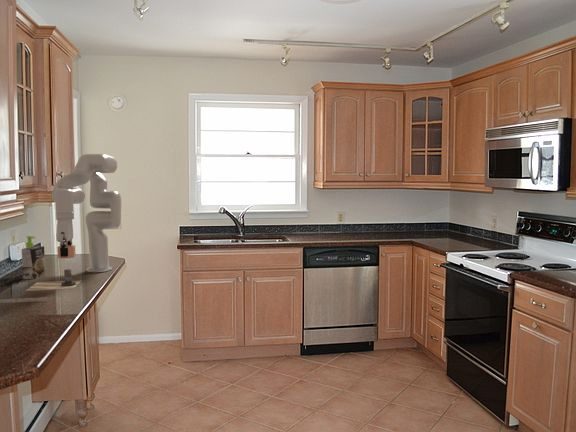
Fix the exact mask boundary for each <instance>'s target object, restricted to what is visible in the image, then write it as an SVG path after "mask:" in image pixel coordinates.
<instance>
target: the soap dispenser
mask: <svg viewBox="0 0 576 432" xmlns="http://www.w3.org/2000/svg"><path fill="white" fill-rule="evenodd" d="M26 239H27V242H26V243H25V248H28V247H33V246H35V245H34V242H33V241H32V239H36V236H34V235H28V236H27V235H26Z"/></svg>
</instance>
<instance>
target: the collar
mask: <svg viewBox="0 0 576 432" xmlns="http://www.w3.org/2000/svg"><path fill="white" fill-rule="evenodd" d="M56 248H57V250H56V251H57V259H72V258H75V257H76V245H74V244H72V245H67V248H68V256H67V257H61V256H60V245H58V246H57V247H56Z"/></svg>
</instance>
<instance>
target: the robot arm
mask: <svg viewBox="0 0 576 432" xmlns="http://www.w3.org/2000/svg"><path fill="white" fill-rule="evenodd" d="M117 169H118V162H117V160H116V158H115V157H113V156H111V155H107V154H103V153H85V154H82V155H81V156H80V157H79V158H78V160H77V163H76V165H75V166H74V168H73V170H72V172H70V173H68V174H66V175H64V176H63V177H61V178H60V179H58V181H57V182H56V183H55V184H54V187H53V189H52V191H51V199H52V201H53V203H55V204H54V205H55V206H54V207H55V220H56V241H57V242H58V243H59V246H60V256H61V257H67V256H68V248H67V245H73V239H74V227H73V220H75V214H74V213H75V211H74V209H75V208H74V205H78V204H79V205H80V204H81V203H83V202H84V200H85V199H86V193H85V191H84V190H83V189H82V188H79V186H82V185H85V184H87V183H88V182H89V183H90V186H89V205H90V207H91V208H93V209H103V210H93V211H90V212H88V213H87V214H86V216H85V224H86V228H87V236H88V238H87V239H88V254H89V255H88V259H89V267H87V268H86V271H87V273H88V272H89V273H105V272H109V271H112V269H113V267H112V266H111V265H110V263H109V262H110V261H109V242H108V241H109V239H108V235H107V233H106V231H104V230H117V229H119V228H120V225H121V221H122V196H121V194H120V192H119V191H117V190H108V181H107V179H106V177H105V176H104V175H103V174H114V173H115V172H116V171H117ZM106 209H107V210H106ZM109 209H110V210H109Z"/></svg>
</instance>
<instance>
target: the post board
mask: <svg viewBox="0 0 576 432" xmlns="http://www.w3.org/2000/svg"><path fill="white" fill-rule="evenodd" d="M63 274H64V275H63V276H64V281H63V280H57V281H55V280H54V281H37V282H35V283H34V284H33V285H31V286H30V287H28V288H27V289H26V290H25V291H28V292H29V291H53V290H73V289H75V287H77V286H78V285H79V284H80V283H81V282H82V280H73V278H72V275H73V274H72V269H70V268H69V269H68V268H67V269H64V271H63Z"/></svg>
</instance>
